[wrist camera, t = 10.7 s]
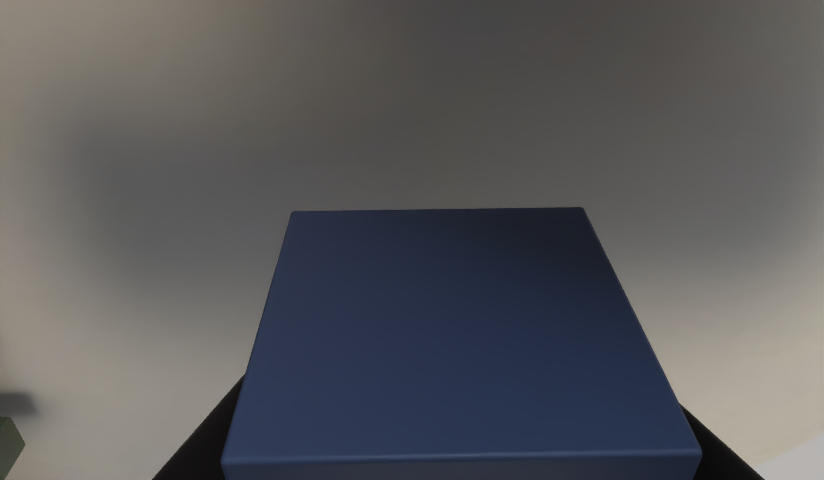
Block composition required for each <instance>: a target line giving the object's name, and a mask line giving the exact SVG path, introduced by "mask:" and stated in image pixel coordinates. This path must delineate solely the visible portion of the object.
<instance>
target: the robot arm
mask: <svg viewBox="0 0 824 480" xmlns="http://www.w3.org/2000/svg"><path fill="white" fill-rule="evenodd" d="M244 377H245V374H244V375H243V376H242V377H241V379H240V380H239V381H238V382H237V383H236V384H235V385H234V387H233V388H232V389H231V390H230V391H229V392H228V393H227V395H226V396H225V397H224V398H223V399H222V400H221V401H220V403H219V404H218V405H217V406H216V407H215V408H214V409H213V411H212V412H211V413H210V414H209V415H208V416H207V417H206V419H205V420H204V421H203V422H202V423H201V424H200V425H199V426H198V428H197V429H196V430H195V431H194V432H193V433H192V434H191V436H190V437H189V438H188V439H187V440H186V441H185V442H184V444H183V445H182V446H181V447H180V448H179V449H178V450H177V452H176V453H175V454H174V455H173V456H172V457H171V458H170V460H169V461H168V462H167V463H166V464H165V465H164V466H163V467H162V469H161V470H160V471H159V472H158V473H157V474H156V475H155V477H154V478H153V479H152V480H225V476H224V473H223V470H222V466H221V457H222V454H223V450H224V447H225V443H226V440H227V436H228V433H229V429H230V426H231V422H232V419H233V415H234V412H235V408H236V405H237V401H238V398H239V394H240V391H241V387H242V384H243V380H244ZM679 404H680V403H679ZM680 406H681V408H682V410H683V412H684V414H685V416H686V418H687V420H688V422H689V425H690V427H691V429H692V431H693V433H694V435H695V437H696V439H697V441H698V443H699V445H700V447H701V449H702V458H701V460H700V463H699V465H698V468H697V470H696V472H695V475H694V477H693V480H765V479H763V478H762V477H761V476H760V475H759V474H758V473H757V472H756V471H755V470H753V469H752V468H751V467H750V466H749V465H748V464H747V463H746V462H744V461H743V460H742V459H741V458H740V457H739V456H738V455H737V454H736V453H734V452H733V451H732V450H731V449H730V448H729V447H728V446H727V445H726V444H724V443H723V442H722V441H721V440H720V439H719V438H718V437H717V436H715V435H714V434H713V433H712V432H711V431H710V430H709V429H708V428H707V427H705V426H704V425H703V424H702V423H701V422H700V421H699V420H698V419H697V418H695V417H694V416H693V415H692V414H691V413H690V412H689V411H688V410H686V409H685V408H684V407H683V406H682V405H681V404H680Z"/></svg>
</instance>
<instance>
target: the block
mask: <svg viewBox="0 0 824 480" xmlns="http://www.w3.org/2000/svg"><path fill="white" fill-rule="evenodd" d="M701 458H702V449H701V447H700V445H699V443H698V441H697V439H696V437H695V435H694V433H693V431H692V429H691V427H690V425H689V422H688V420H687V418H686V416H685V414H684V412H683V410H682V408H681V406H680V404H679V402H678V400H677V398H676V396H675V394H674V392H673V390H672V388H671V386H670V384H669V382H668V380H667V378H666V376H665V374H664V372H663V369H662V367H661V365H660V363H659V361H658V359H657V357H656V355H655V353H654V351H653V349H652V347H651V345H650V343H649V341H648V339H647V337H646V335H645V333H644V331H643V329H642V327H641V325H640V323H639V321H638V318H637V316H636V314H635V312H634V310H633V308H632V306H631V304H630V302H629V300H628V298H627V296H626V294H625V292H624V290H623V288H622V286H621V284H620V282H619V280H618V278H617V276H616V274H615V272H614V270H613V267H612V265H611V263H610V261H609V259H608V257H607V255H606V253H605V251H604V249H603V247H602V245H601V243H600V241H599V239H598V237H597V235H596V233H595V231H594V229H593V227H592V225H591V223H590V221H589V219H588V217H587V214H586V212H585V210H584V209H583V208H581V207H548V208H480V209H411V210H342V211H294V212H292V213H291V215H290V219H289V222H288V226H287V229H286V233H285V236H284V240H283V243H282V247H281V250H280V254H279V257H278V261H277V264H276V268H275V271H274V275H273V278H272V282H271V286H270V289H269V293H268V296H267V300H266V303H265V307H264V310H263V314H262V317H261V321H260V324H259V328H258V331H257V335H256V338H255V342H254V345H253V349H252V352H251V356H250V359H249V363H248V366H247V370H246V373H245V377H244V380H243V384H242V387H241V391H240V394H239V398H238V401H237V405H236V408H235V412H234V415H233V419H232V422H231V426H230V429H229V433H228V436H227V440H226V443H225V447H224V450H223V454H222V457H221V466H222V470H223V473H224V476H225V480H693V477H694V475H695V472H696V470H697V468H698V465H699V463H700V460H701Z"/></svg>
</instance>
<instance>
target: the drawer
mask: <svg viewBox="0 0 824 480" xmlns="http://www.w3.org/2000/svg"><path fill="white" fill-rule="evenodd" d="M24 446H25V442H24V440H23V438H22V437H21V435H20V433H19V431H18V429H17V428H16V426H15V424H14V422H13V420H12V419H11V418H10V417H0V480H4V479H5V478H6V476H7V474H8V473H9V471H10V469H11V468H12V466H13V465H14V463H15V461H16V460H17V458H18V456H19V455H20V453H21V451H22V450H23V448H24Z"/></svg>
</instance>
